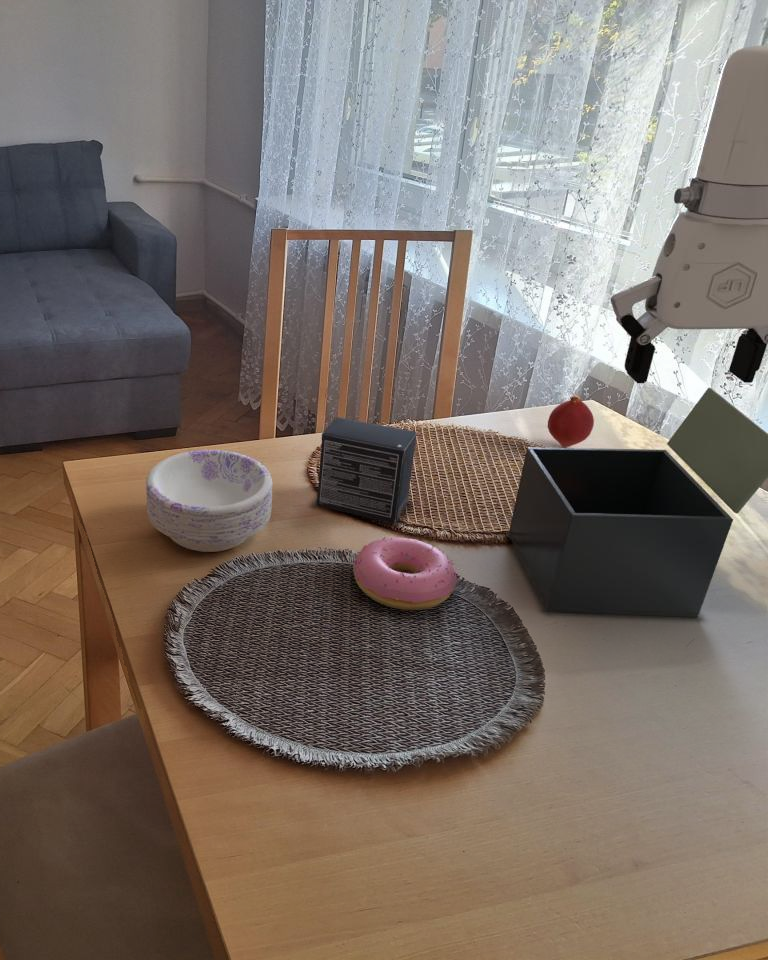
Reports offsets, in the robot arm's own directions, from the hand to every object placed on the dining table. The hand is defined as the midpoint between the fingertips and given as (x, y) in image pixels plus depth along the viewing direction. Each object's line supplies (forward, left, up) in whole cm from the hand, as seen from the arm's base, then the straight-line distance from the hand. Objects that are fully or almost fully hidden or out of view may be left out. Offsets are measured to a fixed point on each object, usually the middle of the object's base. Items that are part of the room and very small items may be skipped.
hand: (687, 377), depth 85 cm
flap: (-5, 0, -7) cm, 9 cm away
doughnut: (+25, +4, -24) cm, 35 cm away
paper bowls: (+47, -6, -24) cm, 53 cm away
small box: (+27, -14, -24) cm, 39 cm away
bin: (+3, 0, -24) cm, 24 cm away
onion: (-4, -32, -24) cm, 40 cm away
